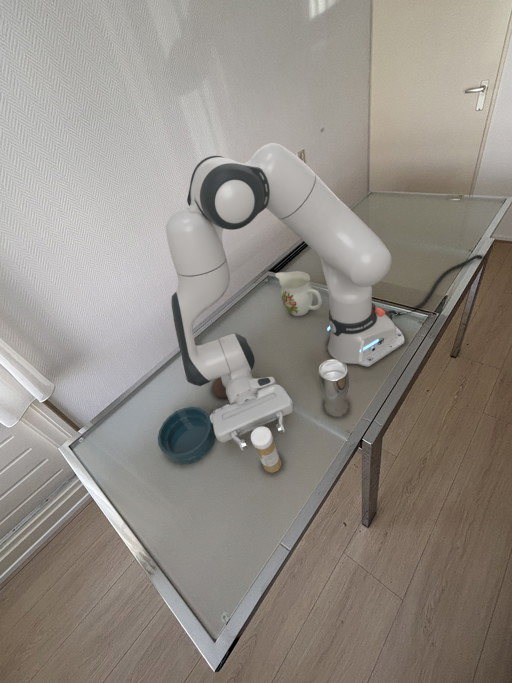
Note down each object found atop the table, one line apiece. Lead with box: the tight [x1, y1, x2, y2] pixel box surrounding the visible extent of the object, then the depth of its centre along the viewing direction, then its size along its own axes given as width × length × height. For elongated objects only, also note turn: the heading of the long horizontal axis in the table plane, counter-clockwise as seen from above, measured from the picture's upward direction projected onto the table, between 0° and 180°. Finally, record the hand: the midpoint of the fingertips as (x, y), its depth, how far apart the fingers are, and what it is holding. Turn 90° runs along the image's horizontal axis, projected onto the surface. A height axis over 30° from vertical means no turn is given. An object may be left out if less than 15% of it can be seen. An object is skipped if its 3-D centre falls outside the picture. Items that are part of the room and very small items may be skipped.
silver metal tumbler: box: [318, 358, 350, 418], centre depth 79 cm, size 7×7×15 cm
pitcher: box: [274, 270, 323, 317], centre depth 112 cm, size 11×18×14 cm, turn 49°
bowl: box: [157, 406, 216, 466], centre depth 85 cm, size 14×14×5 cm
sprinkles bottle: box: [250, 425, 282, 474], centre depth 72 cm, size 5×5×13 cm
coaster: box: [211, 377, 228, 399], centre depth 97 cm, size 9×9×1 cm
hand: (263, 439), depth 73 cm, fingers open, 8 cm apart
